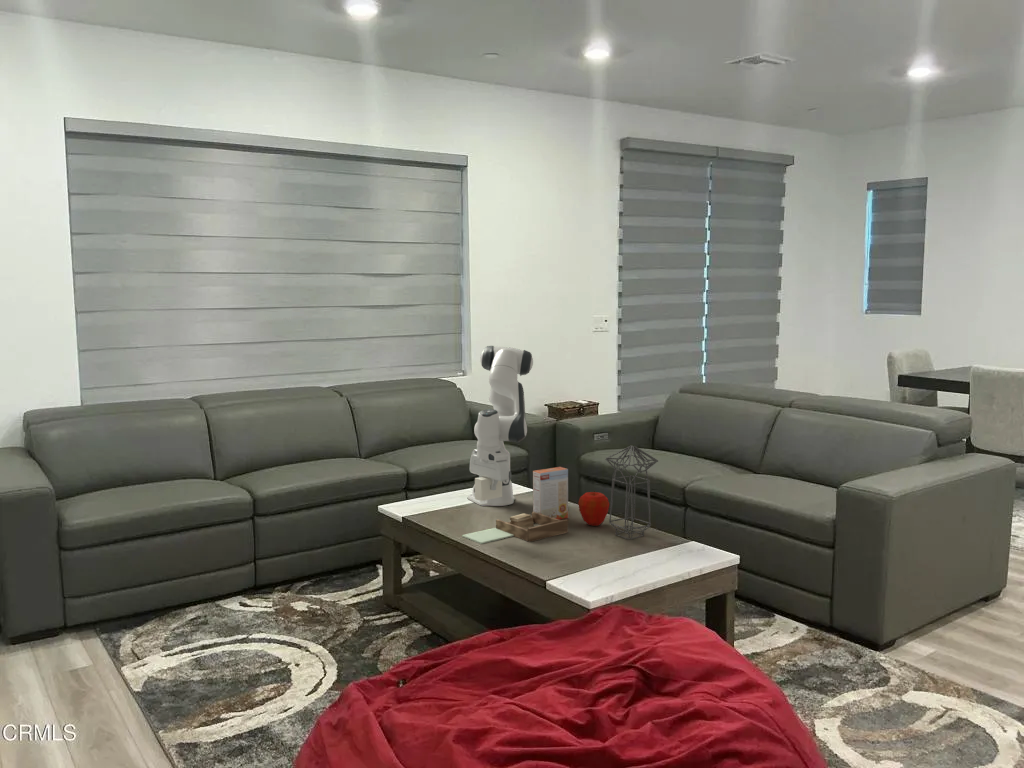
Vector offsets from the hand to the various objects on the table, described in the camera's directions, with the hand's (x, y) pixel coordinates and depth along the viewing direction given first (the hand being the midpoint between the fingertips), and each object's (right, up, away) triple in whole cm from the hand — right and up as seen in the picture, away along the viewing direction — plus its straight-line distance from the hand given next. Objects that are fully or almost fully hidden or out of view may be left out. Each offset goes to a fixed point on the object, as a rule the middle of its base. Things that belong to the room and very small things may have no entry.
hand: (488, 488), depth 327 cm
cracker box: (+25, -16, +26) cm, 39 cm away
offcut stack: (+13, -17, +14) cm, 26 cm away
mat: (0, -19, +2) cm, 19 cm away
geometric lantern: (+54, -19, +4) cm, 58 cm away
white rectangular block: (0, -4, 0) cm, 4 cm away
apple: (+42, -17, +18) cm, 48 cm away
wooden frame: (+17, -18, +9) cm, 26 cm away
